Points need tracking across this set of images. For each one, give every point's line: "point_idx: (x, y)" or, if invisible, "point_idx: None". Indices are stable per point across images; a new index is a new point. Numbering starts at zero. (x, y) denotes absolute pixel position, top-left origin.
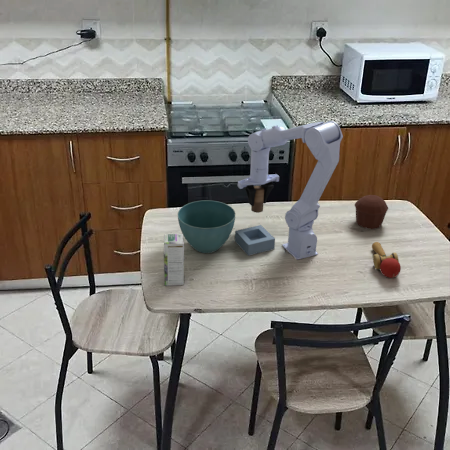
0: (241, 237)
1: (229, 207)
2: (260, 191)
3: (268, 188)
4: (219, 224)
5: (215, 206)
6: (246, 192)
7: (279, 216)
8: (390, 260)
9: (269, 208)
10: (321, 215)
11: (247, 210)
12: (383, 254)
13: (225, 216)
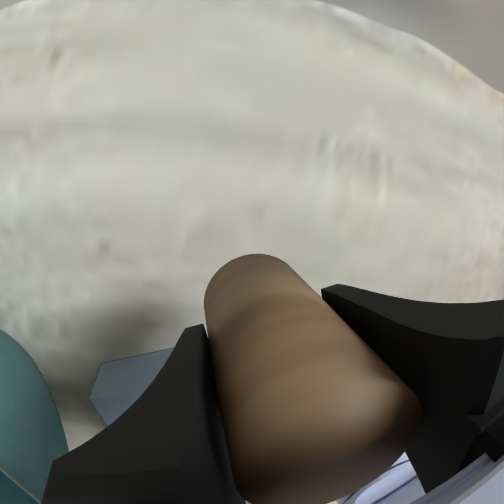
0: None
1: (13, 473)
2: (327, 499)
3: (431, 486)
4: (5, 356)
5: None
6: (134, 408)
7: (383, 160)
8: None
9: (359, 65)
10: (499, 201)
11: (234, 48)
12: None
13: (12, 403)
